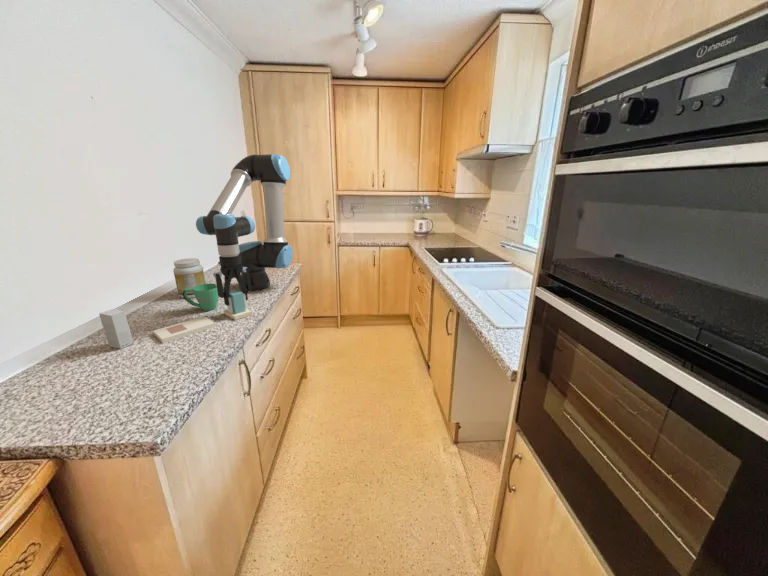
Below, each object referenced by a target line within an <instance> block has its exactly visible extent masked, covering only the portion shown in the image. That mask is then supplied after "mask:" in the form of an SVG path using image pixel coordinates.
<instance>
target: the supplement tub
mask: <svg viewBox="0 0 768 576" xmlns="http://www.w3.org/2000/svg"><path fill="white" fill-rule="evenodd" d="M173 266H174V268H173V269H172V271H173V275H174V280H175V285H176V289H177V293H178V296H179V297H181V298H182V299H184V297H183V294H182V292H183V290H184V289H185V288H191V289H192V288H193V287H195V286H198V285H202V284H207V283H206V279H205V278H206V277H205V273H204V272H205V271H204V267H203V265H201V262H200V259H199V258H195V257H193V258H192V257H189V258H182V259H177V260H174V262H173ZM186 294H187V296H188V297H189V298H190V299H193V298H196V297H195V295H194V293H193V292H186Z"/></svg>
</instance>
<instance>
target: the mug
mask: <svg viewBox="0 0 768 576" xmlns="http://www.w3.org/2000/svg"><path fill="white" fill-rule="evenodd" d="M186 292H193V293H194V295H195V298H196V301H197V302H198V303H197V302H194V300H192V298H189V297H188V296H187V294H186ZM182 294H183V297H184V298H183V299H184V300H185V301H186V302H187V303H189V304H190V305H192V306H194V307H195V308H196V307H197V308H199V309H202V310H203V311H204V312H210V311H211V310H212V311H214V310H217V306H218V302H219V296H218V291H217V284H216V283H206V284H202V285H198V286H195V287H193V288H192V289H191V288H185V289H184V290H183V292H182Z"/></svg>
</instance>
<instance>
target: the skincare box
mask: <svg viewBox="0 0 768 576" xmlns="http://www.w3.org/2000/svg"><path fill="white" fill-rule="evenodd" d="M99 318H100V320H101V321H100V322H101V324H102V328H103V331H104V334H105V338H106V340H107V344H108V346H109V347H111V348H114V349H119V350H122V349H124V348H127V347H129V346H131V345H134V339H133V337H132V332H131V330H130V326H129V322H128V319H127V315H126V313H125V310H119V309H115V308H114V309H113V308H112V309H108V310H107V311H102V312H99Z"/></svg>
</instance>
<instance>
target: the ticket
mask: <svg viewBox="0 0 768 576" xmlns="http://www.w3.org/2000/svg"><path fill="white" fill-rule="evenodd" d="M217 327H218V322H217V321H215V319H212V318H211V317H210V316H208V315H203V316H200V317H195V318H192V319H189V320H185V321H182V322H178V323H175V324H172V325H168V326H165V327H162V328H158V329H154V330H152V332H153V335H154V336H155V337H156V338H157V339H158V340H160V341H159V342H161V343H162V344H164V343H165V344H166V343H169V342H171V341H175V340H178V339H180V338H184V337H187V336H190V335H193V334H196V333H200V332H203V331H206V330H209V329H210V330H211V329H213V328H217Z"/></svg>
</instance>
